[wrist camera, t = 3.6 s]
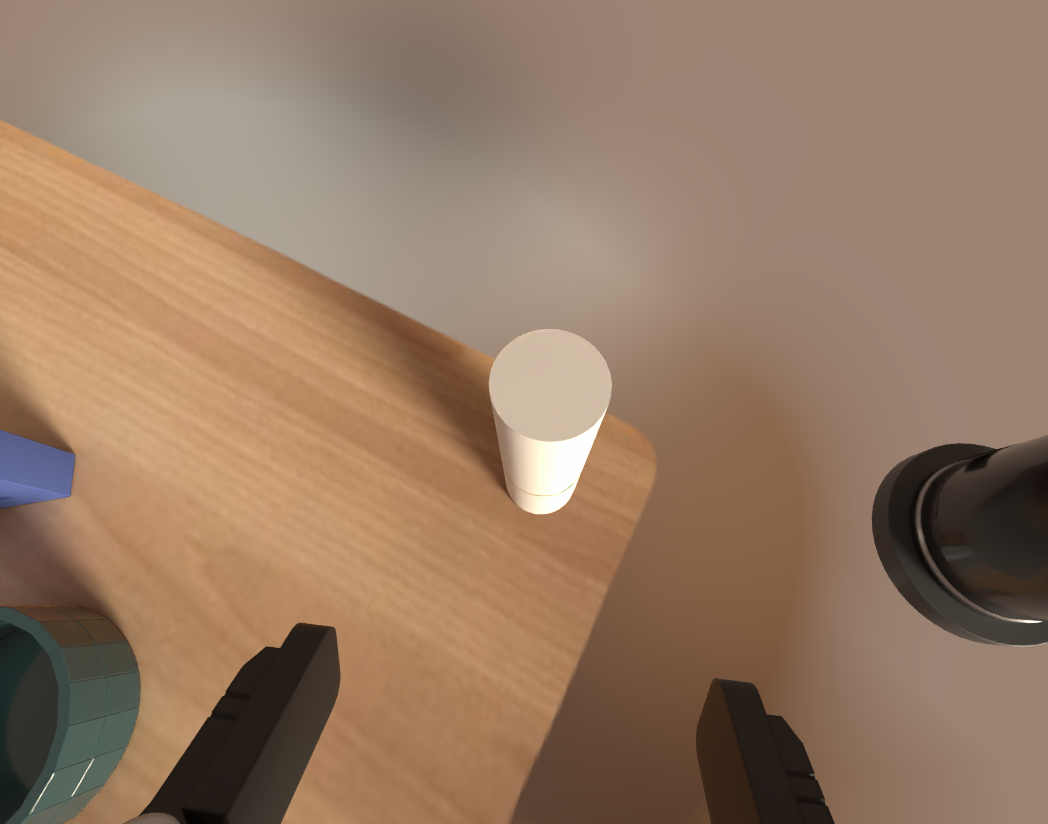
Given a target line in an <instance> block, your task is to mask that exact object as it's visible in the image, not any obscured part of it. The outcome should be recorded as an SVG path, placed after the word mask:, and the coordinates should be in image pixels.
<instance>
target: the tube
mask: <svg viewBox="0 0 1048 824" xmlns="http://www.w3.org/2000/svg"><path fill="white" fill-rule="evenodd" d="M611 387H612V382H611V375H610V371H609V369H608V366H607V363H606V362H605V360H604V359H603V357H602V355H601V353H600V352H599V351H598V350H597V349H596V348H595V347H594V346H593V345H592V344H591V343H589V342H588V341H587V340H585V339H584V338H582V337H579V336H578V335H576V334H574V333H571V332H567V331H563V330H556V329H542V330H536V331H532V332H528V333H526V334H524V335H521V336H519V337H517V338H516V339H514V340H513V341H511V342H510V343H508V344H507V346H506V347H505V348H504V349H503V350H502V351H501V352H500V353H499V355H498V356H497V358H496V360H495V361H494V364H493V366H492V369H491V372H490V379H489V391H490V398H491V404H492V409H493V415H494V420H495V426H496V431H497V437H498V443H499V448H500V454H501V459H502V465H503V470H504V476H505V481H506V487H507V490H508V493H509V495H510V497H511V499H512V500H513V501H514V502H515V504H517V505H518V506H519V507H520V508H522V509H523V510H525V511H527V512H530V513H534V514H548V513H551V512H554V511H556V510H558V509H560V508H561V507H562V506H564V505H565V504H566V503H567V501H568V500H569V499H570V497H571V495H572V493H573V491H574V488H575V486H576V483H577V481H578V478H579V476H580V473H581V471H582V469H583V466H584V464H585V461H586V459H587V456H588V454H589V451H590V449H591V446H592V444H593V441H594V439H595V437H596V434H597V432H598V429H599V427H600V424H601V422H602V419H603V417H604V414H605V412H606V409H607V407H608V404H609V400H610V397H611Z"/></svg>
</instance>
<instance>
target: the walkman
mask: <svg viewBox="0 0 1048 824" xmlns="http://www.w3.org/2000/svg"><path fill="white" fill-rule="evenodd" d="M74 462H75V454H72V453H69V452H66V451H63V450H60V449H57V448H54V447H51V446H48V445H45V444H42V443H39V442H36V441H33V440H30V439H27V438H24V437H21V436H18V435H15V434H12V433H9V432H6V431H3V430H0V508H6V507H11V506H17V505H23V504H29V503H35V502H41V501H47V500H53V499H59V498H64V497H70V494H71V486H72V478H73V470H74Z"/></svg>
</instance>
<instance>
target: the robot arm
mask: <svg viewBox="0 0 1048 824" xmlns="http://www.w3.org/2000/svg"><path fill="white" fill-rule="evenodd" d="M1004 448H1005V449H1004ZM1004 448H1000V449H996V450H993V451H989V452H985V453H981V454H978V455H974V456H970V457H967V458H964V459H968V458H972V457H976V456H979V455H983V454H986V455H983V456H980V457H977V458H974V459H971V460H964V459H961V460H964V461H961V460H958V461H960V462H957V461H955V462H956V463H953V462H952V463H953V464H950V465H947V466H944V467H942V468H940V469H938V470H936V471H934V472H933V473H932V474H930V475H929V476H928V477H927V478H926V479H925V480H924V481H923V482H922V483H921V484H920V486H919V488H918V489H917V491H916V493H915V495H914V498H913V501H912V505H911V511H910V527H911V534H912V538H913V542H914V545H915V548H916V550H917V553H918V555H919V557H920V559H921V561H922V563H923V565H924V566H925V568H926V569H927V571H928V572H929V574H930V575H931V576H932V578H933V579H934V580H935V581H936V583H937V584H938V585H939V586H940V587H941V588H942V589H943V590H944V591H945V592H946V593H947V594H949V595H950V596H951V597H952V598H953V599H955V600H956V601H957V602H959V603H960V604H962V605H963V606H965V607H966V608H968V609H970V610H972V611H974V612H976V613H978V614H980V615H983V616H985V617H988V618H991V619H995V620H999V621H1005V622H1021V623H1034V622H1042V621H1045V622H1048V435H1045V436H1042V437H1039V438H1036V439H1033V440H1030V441H1027V442H1024V443H1020V444H1015V445H1012V446H1011V447H1010V446H1009V447H1008V448H1007V447H1004ZM1001 449H1002V450H1001ZM998 450H999V451H998ZM994 451H996V452H994ZM991 452H993V453H991ZM987 453H990V454H987ZM339 685H340V665H339V656H338V646H337V637H336V630H335V628H334V627H329V626H322V625H314V624H306V623H298V624H296V625H295V626H294V627H293V629H292V630H291V632H290V633H289V635H288V636H287V638H286V640H285V641H284V643H283V644H282V646H281V648H275V647H267V646H266V647H265V648H264V649H263V650H261V651H260V652H259V653H258V654H257V655H255V656H254V657H253V658H252V659H251V660H249V661H248V662H247V663H246V664H245V665H244V666H242V668H241V669H240V671H239V672H238V674H237V675H236V677H235V678H234V680H233V681H232V683H231V684H230V686H229V687H228V689H227V690H226V694H225V696H222V698H221V699H220V700H219V702H218V703H217V705H216V706H215V708H214V709H213V711H212V714H211V716H210V717H208V718H207V720H206V721H205V723H204V724H203V726H202V727H201V729H200V730H199V732H198V733H197V735H196V736H195V738H194V739H193V741H192V742H191V744H190V745H189V747H188V748H187V749H186V751H185V752H184V754H183V755H182V757H181V758H180V760H179V761H178V763H177V764H176V766H175V767H174V769H173V770H172V772H171V773H170V775H169V776H168V778H167V779H166V781H165V782H164V784H163V785H162V787H161V788H160V790H159V791H158V793H157V794H156V795H155V797H154V798H153V800H152V801H151V802H150V804H149V805H148V806H147V807H146V808H145V809H144V810H143V812H142V813H141V814H140V815H139V816H138V817H135V818H133V819H131V820H129V821H127V822H125V823H123V824H281V822H282V819H283V817H284V815H285V813H286V811H287V808H288V806H289V804H290V802H291V800H292V797H293V795H294V793H295V791H296V788H297V786H298V784H299V782H300V780H301V777H302V775H303V773H304V771H305V769H306V766H307V764H308V762H309V760H310V758H311V755H312V753H313V751H314V749H315V746H316V744H317V742H318V740H319V738H320V735H321V733H322V731H323V729H324V727H325V724H326V722H327V720H328V718H329V716H330V713H331V711H332V709H333V707H334V704H335V701H336V698H337V695H338V691H339ZM696 749H697V757H698V763H699V767H700V772H701V777H702V782H703V787H704V791H705V796H706V801H707V806H708V811H709V815H710V820H711V824H835V823H834V821H833V818H832V816H831V813H830V811H829V808H828V806H826V805H825V799H824V796H823V793H822V791H821V788H820V786H819V783H818V781H817V780H815V774H814V771H813V769H812V766H811V763H810V761H809V758H808V756H807V753H806V751H805V748H804V746H803V743H802V742H801V741H800V740H799V738H798V737H797V736H796V734H795V733H794V732H793V730H792V729H791V728H790V726H789V725H788V724H787V723H786V721H785V720H784V719H783V718H782V717H781V716H774V715H767V714H766V712H765V709H764V706H763V703H762V701H761V698H760V695H759V692H758V690H757V688H756V687H755V685H753V684H752V683H748V682H740V681H733V680H724V679H717V678H715V679H714V680H713V681H712V683H711V686H710V689H709V692H708V695H707V698H706V701H705V704H704V707H703V710H702V713H701V716H700V719H699V722H698V725H697V732H696Z"/></svg>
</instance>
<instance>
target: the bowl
mask: <svg viewBox="0 0 1048 824" xmlns="http://www.w3.org/2000/svg"><path fill="white" fill-rule="evenodd" d="M139 704H140V675H139V669H138V665H137V661H136V658H135V655H134V653H133V650H132V648H131V646H130V645H129V643H128V641H127V640H126V638H125V637H124V636H123V635H122V633H121V632H120V631H119V630H118V629H117V628H116V627H114V625H113V624H112V623H111V622H110V621H109V620H108V619H107V618H105V617H103V616H101V615H99V614H96V613H94V612H92V611H90V610H88V609H86V608H84V607H80V606H65V605H0V824H65V823H66V822H68V821H69V820H71V819H72V818H74V817H75V816H76V815H77V814H78V813H79V812H80V811H81V810H82V809H83V808H84V807H85V806H86V804H87V803H88V802H89V801H90V800H91V799H92V798H93V797H94V796H95V795H96V794H97V793H98V791H99V790H100V789H101V788H102V787H103V786H104V785H105V783H106V782H107V780H108V778H109V776H110V775H111V774H112V772H113V771H114V769H115V768H116V766H117V764H118V763H119V761H120V760H121V758H122V756H123V754H124V752H125V750H126V748H127V746H128V744H129V741H130V738H131V736H132V733H133V731H134V727H135V723H136V720H137V716H138V710H139Z"/></svg>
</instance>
